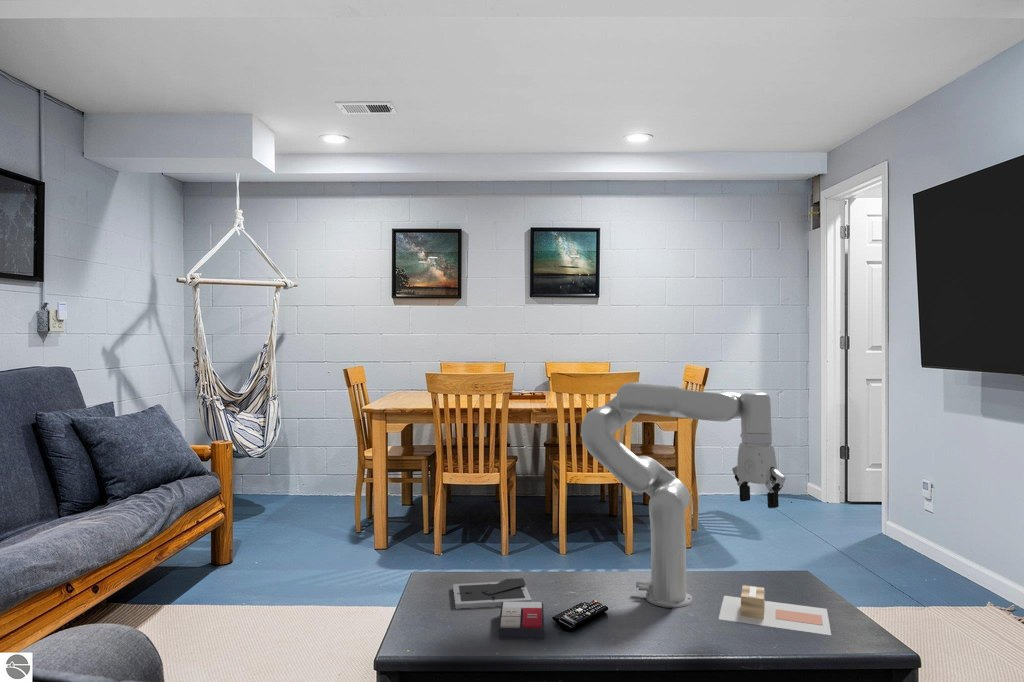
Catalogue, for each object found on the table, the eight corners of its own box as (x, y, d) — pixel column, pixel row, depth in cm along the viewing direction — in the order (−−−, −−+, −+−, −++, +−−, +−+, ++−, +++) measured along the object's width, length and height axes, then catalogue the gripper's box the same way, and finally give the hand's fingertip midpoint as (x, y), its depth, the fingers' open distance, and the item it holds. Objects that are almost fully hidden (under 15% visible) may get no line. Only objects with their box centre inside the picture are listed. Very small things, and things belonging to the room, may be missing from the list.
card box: (763, 618, 167) (763, 598, 167) (741, 615, 169) (740, 595, 169) (764, 606, 175) (764, 587, 175) (743, 603, 177) (742, 584, 177)
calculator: (498, 625, 157) (501, 599, 172) (498, 643, 157) (501, 615, 172) (544, 625, 156) (543, 599, 171) (544, 643, 156) (543, 615, 171)
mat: (718, 621, 167) (718, 618, 167) (724, 597, 183) (724, 595, 183) (831, 637, 157) (831, 634, 157) (826, 610, 174) (826, 608, 174)
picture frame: (523, 587, 194) (452, 591, 191) (523, 578, 194) (452, 581, 191) (531, 607, 178) (455, 611, 175) (531, 597, 178) (455, 601, 175)
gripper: (722, 437, 180) (724, 499, 179) (771, 443, 164) (774, 512, 163) (743, 435, 183) (745, 497, 182) (793, 441, 167) (795, 508, 167)
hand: (758, 504), depth 173 cm, fingers open, 9 cm apart
